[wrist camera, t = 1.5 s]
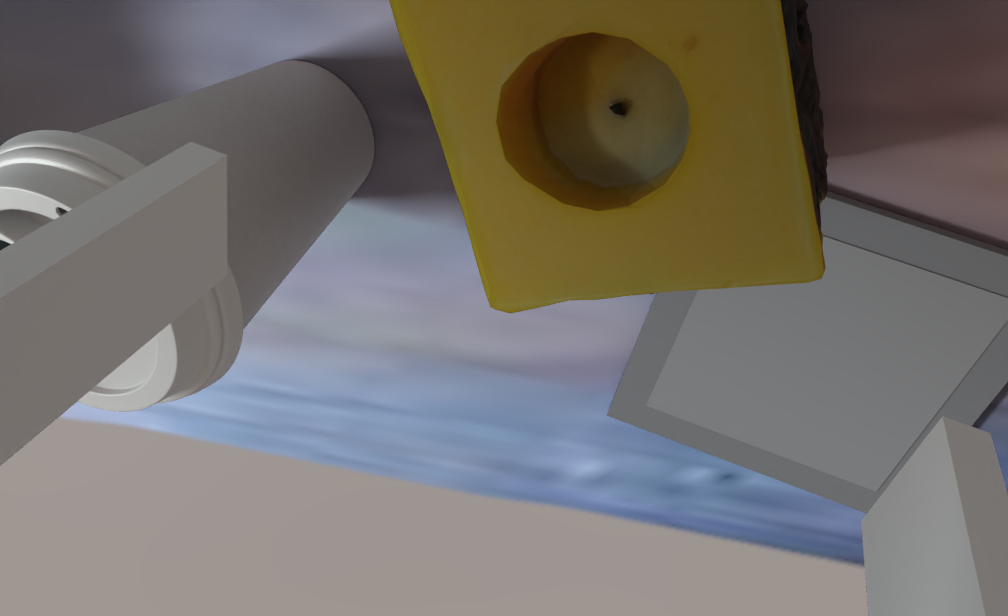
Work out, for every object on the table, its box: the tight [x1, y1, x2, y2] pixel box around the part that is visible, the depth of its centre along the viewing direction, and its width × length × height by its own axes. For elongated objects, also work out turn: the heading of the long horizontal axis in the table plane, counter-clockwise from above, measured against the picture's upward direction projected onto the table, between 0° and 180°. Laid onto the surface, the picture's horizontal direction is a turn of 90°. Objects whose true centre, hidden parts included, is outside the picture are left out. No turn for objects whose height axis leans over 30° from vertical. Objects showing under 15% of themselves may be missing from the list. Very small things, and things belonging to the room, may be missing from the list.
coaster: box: [607, 191, 1008, 513], centre depth 33 cm, size 14×14×1 cm
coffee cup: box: [0, 60, 375, 412], centre depth 29 cm, size 10×10×15 cm
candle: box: [389, 0, 828, 313], centre depth 25 cm, size 10×10×10 cm
